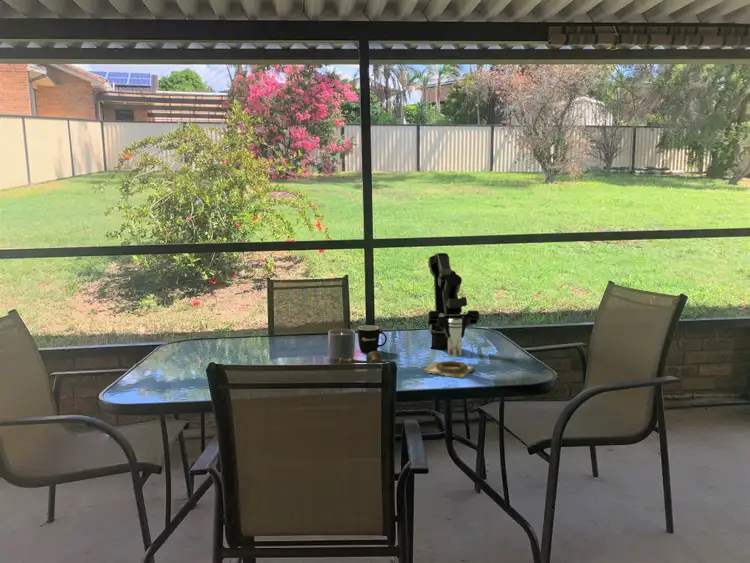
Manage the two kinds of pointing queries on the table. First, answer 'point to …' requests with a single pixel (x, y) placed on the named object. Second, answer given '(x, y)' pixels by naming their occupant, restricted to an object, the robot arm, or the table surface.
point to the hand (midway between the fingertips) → (455, 337)
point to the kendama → (371, 358)
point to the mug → (369, 338)
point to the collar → (449, 369)
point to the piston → (455, 336)
